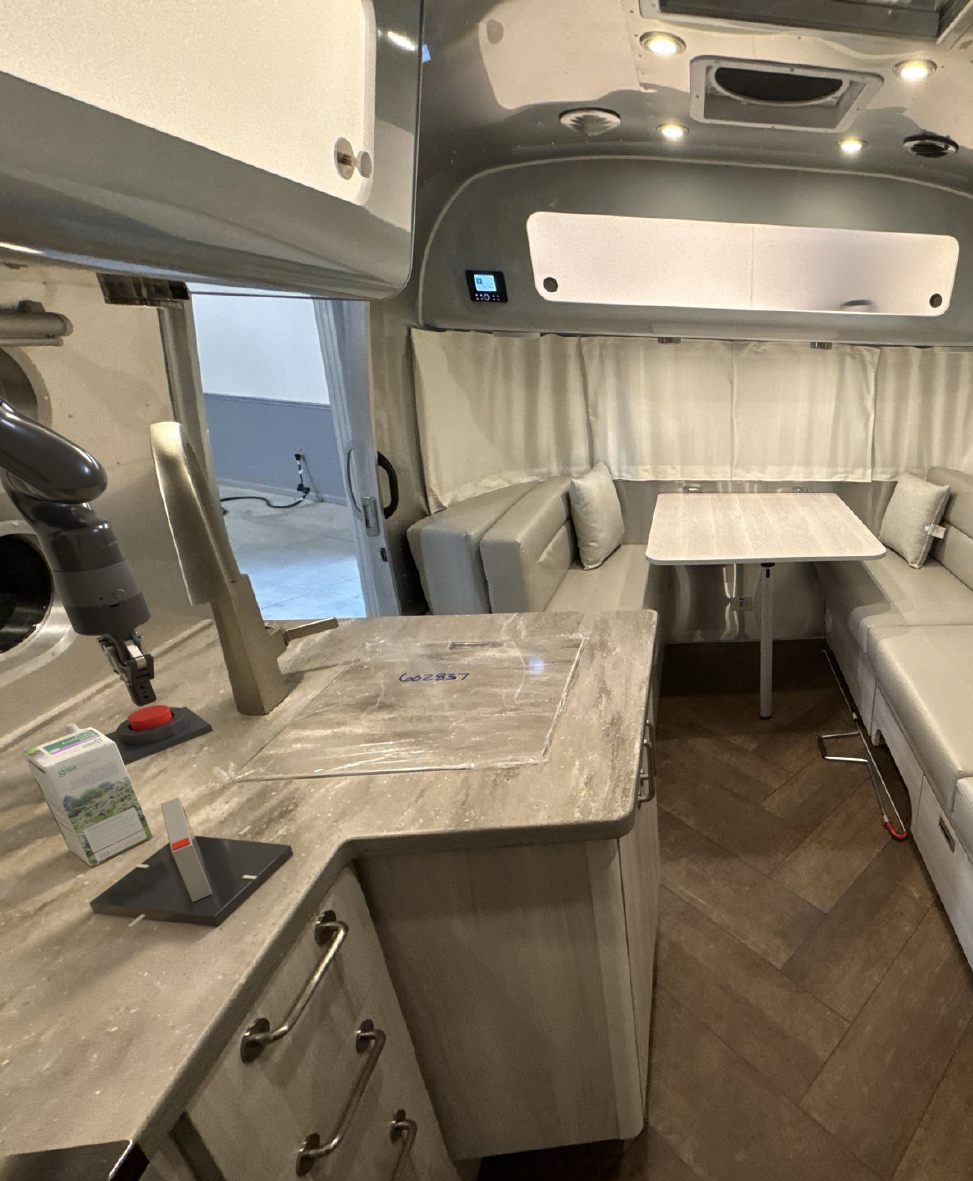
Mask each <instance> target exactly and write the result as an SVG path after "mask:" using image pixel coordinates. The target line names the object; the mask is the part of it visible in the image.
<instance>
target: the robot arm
mask: <svg viewBox="0 0 973 1181" xmlns="http://www.w3.org/2000/svg"><path fill="white" fill-rule="evenodd" d="M0 484H1V486H2V489H3V490H4V492H5V493H6V496H7V497H8V499H9V500H10V501H11V503H12V504H13V506H14V507H15V508H16V510H17V511H18V513H19V514H20V515H21V517H22V519H23V520H24V521H25V522H26V524H27V525H28V526H29V527H30V529H31V530H32V531H33V533H34V534H35V536H36V537H37V540H38V542H39V545H40V546H41V547H40V548H41V551H42V552H43V555H44V557H45V560H46V562H47V564H48V567H49V568H50V572H51V574H52V580H53V584H54V587H55V590H56V592H57V595H58V597H59V599H60V601H61V604H62V606H63V609H64V611H65V614H66V615H67V618H68V619H69V622H70V625H71V627H72V629H73V631H74V632H75V633H76V634H78V635H79V636H85V637H86V636H87V637H96V641H95V642H96V644H97V646H98V648H99V650H100V651H102V652H103V654H104V656H105V658H106V660H107V664H108V665H109V667H111V668H112V671H113V673H114V674H116V675H117V676H118V675H119V680H120V681H121V682H123V683H124V684H125V687H126V689H127V691H128V694H129V696H130V699H131V702H132V703H133V704H134V705H136V706H137V707H143V706H147V705H150V704H152V703H155V702H156V701H157V696H156V693H155V690H154V688H153V685H152V682H151V680H153V679H155V660H154V656H153V655H152V654H151V653H148V651H147V649H146V648H147V647H148V644H147V642H146V639H145V637H144V635H143V634H139V633H138V632H137V631H136V629H137V628H138V627H140V626H141V625H144V624H146V623H147V622H148V621H149V620H150V619H151V612H150V609H149V606H148V603H147V601H146V598H145V596H144V593H143V590H142V588H141V585H140V582H139V580H138V577H137V574H136V572H135V570H134V569H133V566H132V565H131V563H130V562H129V559H128V558H127V555H126V552H125V550H124V547H123V544H122V542H121V539H120V537H119V534H118V531H117V530H116V528H115V526H114V525H113V523H112V522H110V520H108V519H107V518H105V517H103V516H102V515H100V514H98V513H97V512H96V511H95V510H94V509H93V507H92V505H91V503H90V502H93V501H95V500H97V499H99V498H100V497H101V496H103V494H104V493H105V492H106V490H107V487H108V484H109V479H108V474H107V472H106V470H105V468H104V467H103V465H102V464H101V462H100V461H99V460H98V459H96V457H94V456H93V455H92V454H91V453H90V452H88V451H87V450H86V449H84V448H83V447H81V446H80V445H78V444H76V443H75V442H74V441H72V440H70V439H68V438H67V437H65V436H63V435H62V434H60V433H59V432H57V431H55V430H53V429H52V428H50V427H49V426H47V425H45V424H43V423H41V422H40V421H38V420H36V419H35V418H32V417H31V416H29V415H27V414H26V413H24V412H22V411H20V410H19V409H18V408H17V407H15V406H14V405H13V404H11V403H10V402H9V401H8V400H6V399H5V398H4V397H3V396H1V395H0ZM138 634H139V635H138ZM99 636H100V637H99Z"/></svg>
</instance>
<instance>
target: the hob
mask: <svg viewBox="0 0 973 1181" xmlns="http://www.w3.org/2000/svg"><path fill="white" fill-rule="evenodd" d="M251 828H252V825H247V826H246V827H244V829H243V830H241V831H240V832H239V833H238V836H243V835H244V834H245V833H246V832H248V831H249V830H250V829H251ZM195 838H196V840H197V843H198V846H199V849H200V853H201V856H202V860H203V863H204V867H205V870H206V874H207V877H208V881H209V884H210V888H211V891H212V894H210V895H208V896H206V897H204V898H201V899H199V900H197V901H195V902H192V900H191V897H190V895H189V892H188V890H187V888H186V885H185V883H184V881H183V878H182V876H181V873H180V871H179V869H178V866H177V864H176V861H175V859H174V857H173V854H172V851H171V847H170V843H169V842H167V843H166V844H165V845H163V846H162V847H161V848H160V849H158V850H157V851H156V852H154V853H152V855H150V856H149V857H148V858H146V859H145V860H144V861H142V862H141V863H136V864H135V865H133V867H134V868H133V869H132V870H130V871H129V872H128V873H126V874H125V875H124V876H122V877H121V878H120V879H119V880H117V881H116V882H115V883H113V884H112V885H111V886H109V887H107V889H105V890H104V891H103V892H101V893H100V894H99V895H97V896H96V897H94V899H92V900H91V901H89V903H88V904H89V907H90V908H91V910H92V912H93V914H98V915H108V916H110V915H111V916H118V917H127V918H136V919H134V920H133V921H132V922H131V923H129V924H128V925H127V927H128V928H133V926H135V925H137V923H139V922H140V921H141V920H142V919H146V920H155V921H164V922H173V923H181V924H182V923H183V924H190V925H192V924H193V925H202V926H211V927H219V926H220V925H222V923H223V922H224V921H226V919H228V918H229V917H230V916H231V915H232V914H233V913H234V912H235V911H236V910H237V909H239V907H240V906H241V905H242V904H243V903H244V902H246V901H247V900H248V898H249V897H251V896H252V895H253V894H254V893H256V891H257V890H258V889H259V888H261V886H263V885H264V883H265V882H267V880H269V879H270V878H271V877H272V876H273V875H274V874H275V873H277V871H278V870H279V869H280V868H281V867H282V866H283V865H285V864H286V862H287V861H288V860H290V858H292V857H293V856H294V852H293V849H292V845H290V844H281V843H272V842H261V841H253V840H252V841H251V840H241V839H232V838H222V837H211V836H204V835H203V836H201V835H195Z"/></svg>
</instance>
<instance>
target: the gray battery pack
mask: <svg viewBox="0 0 973 1181" xmlns="http://www.w3.org/2000/svg"><path fill="white" fill-rule="evenodd" d="M160 808H161V813H162V817H163V821H164V825H165V830H166V834H167V838H168V843H170V847H171V851H172V854H173V857H174V859H175V861H176V864H177V866H178V869H179V871H180V873H181V876H182V878H183V881H184V883H185V885H186V888H187V890H188V892H189V895H190V897H191V900H192V902H195V901H197V900H199V899H201V898H204V897H206V896H208V895H210V894H212V891H211V888H210V884H209V881H208V877H207V874H206V870H205V867H204V863H203V860H202V856H201V853H200V849H199V846H198V843H197V840H196V838H195V836H196V835H195V833H194V831H193V828H192V825H191V823H190V820H189V818H188V814H187V812H186V810H185V806H184V805H183V802H182V800H181V798H180V797H176V798H173V799H171V800H167V801H164V802H162V803H160Z"/></svg>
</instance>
